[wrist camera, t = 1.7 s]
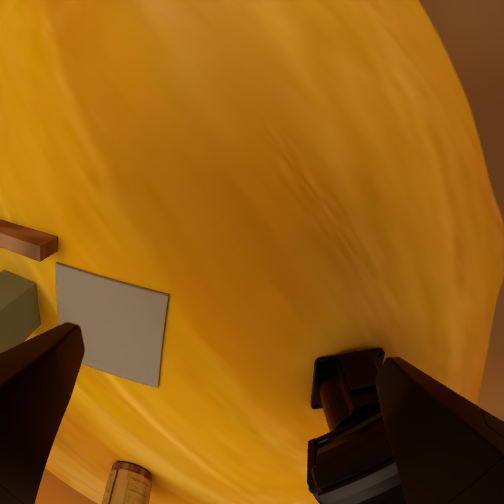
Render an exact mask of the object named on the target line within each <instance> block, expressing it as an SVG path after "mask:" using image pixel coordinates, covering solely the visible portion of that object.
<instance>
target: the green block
mask: <svg viewBox="0 0 504 504" xmlns="http://www.w3.org/2000/svg"><path fill="white" fill-rule="evenodd" d="M39 325H40V317H39V309H38V301H37V291H36V283H35V282H33V281H30V280H28V279H25V278H23V277H20V276H18V275H15V274H13V273H11V272H8V271H6V270H4V271H2V272H1V273H0V353H2V352H4V351H6V350H8V349H10V348H12V347H15V346H17V345H19V344H21V343H23V342H24V341H25V339H26V338H27V337H28V336H29V335H30V334H31V333H32V332H33V331H34V330H35V329H36V328H37V327H38V326H39Z"/></svg>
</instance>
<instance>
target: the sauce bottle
mask: <svg viewBox="0 0 504 504" xmlns="http://www.w3.org/2000/svg"><path fill="white" fill-rule="evenodd" d="M151 485H152V484H151V476H150V474H149V473H148V472H147V471H146V470H144V469H143V468H141V467H139V466H137V465H135V464H130V463H125V462H116V463H115V464H114V465H113V466H112V471H110V473H109V478H108V481H107V485H106V489H105V493H104V497H103V501H102V504H149V498H150V491H151Z"/></svg>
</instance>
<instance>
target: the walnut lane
mask: <svg viewBox="0 0 504 504" xmlns="http://www.w3.org/2000/svg"><path fill="white" fill-rule="evenodd" d="M57 242H58V237H57V236H53V235H50V234H46V233H43V232H39V231H36V230H33V229H29V228H26V227H23V226H19V225H16V224H13V223H10V222H7V221H3V220H0V247H2V248H4V249H7V250H10V251H12V252H15V253H18V254H20V255H23V256H26V257H28V258H31V259H34V260H37V261H40V262H41V261H42V260H44V259H45V258H47V257H49V256H50V255H52V254H53V253H55V252H57Z"/></svg>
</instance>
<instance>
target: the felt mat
mask: <svg viewBox="0 0 504 504" xmlns="http://www.w3.org/2000/svg"><path fill="white" fill-rule="evenodd" d="M55 270H56V293H57V306H58V317H59V325H61V324H63V323H65V322H70V323H74V324H78V325H79V326H80V327H81V331H82V336H83V341H84V346H85V353H84V357H83V360H82V363H81V364H84V365H86V366H89V367H92V368H95V369H97V370H100V371H103V372H106V373H109V374H112V375H115V376H118V377H121V378H124V379H128V380H131V381H134V382H138V383H141V384H144V385H148V386H152V387H155V388H158V386H159V375H160V364H161V354H162V345H163V336H164V328H165V320H166V312H167V305H168V298H169V294H166V293H162V292H158V291H154V290H150V289H146V288H143V287H139V286H135V285H131V284H128V283H124V282H121V281H117V280H114V279H110V278H107V277H103V276H100V275H96V274H93V273H90V272H86V271H83V270H80V269H77V268H74V267H70V266H67V265H64V264H61V263H58V262H57V263H55Z"/></svg>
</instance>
